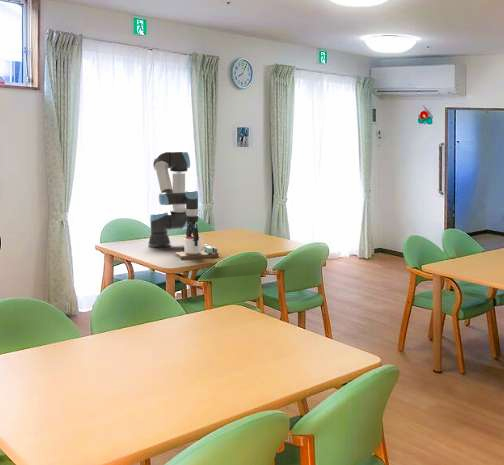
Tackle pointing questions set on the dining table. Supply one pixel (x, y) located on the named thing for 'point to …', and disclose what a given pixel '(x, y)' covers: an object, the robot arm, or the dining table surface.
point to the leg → (208, 248)
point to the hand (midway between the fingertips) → (192, 249)
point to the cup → (191, 246)
